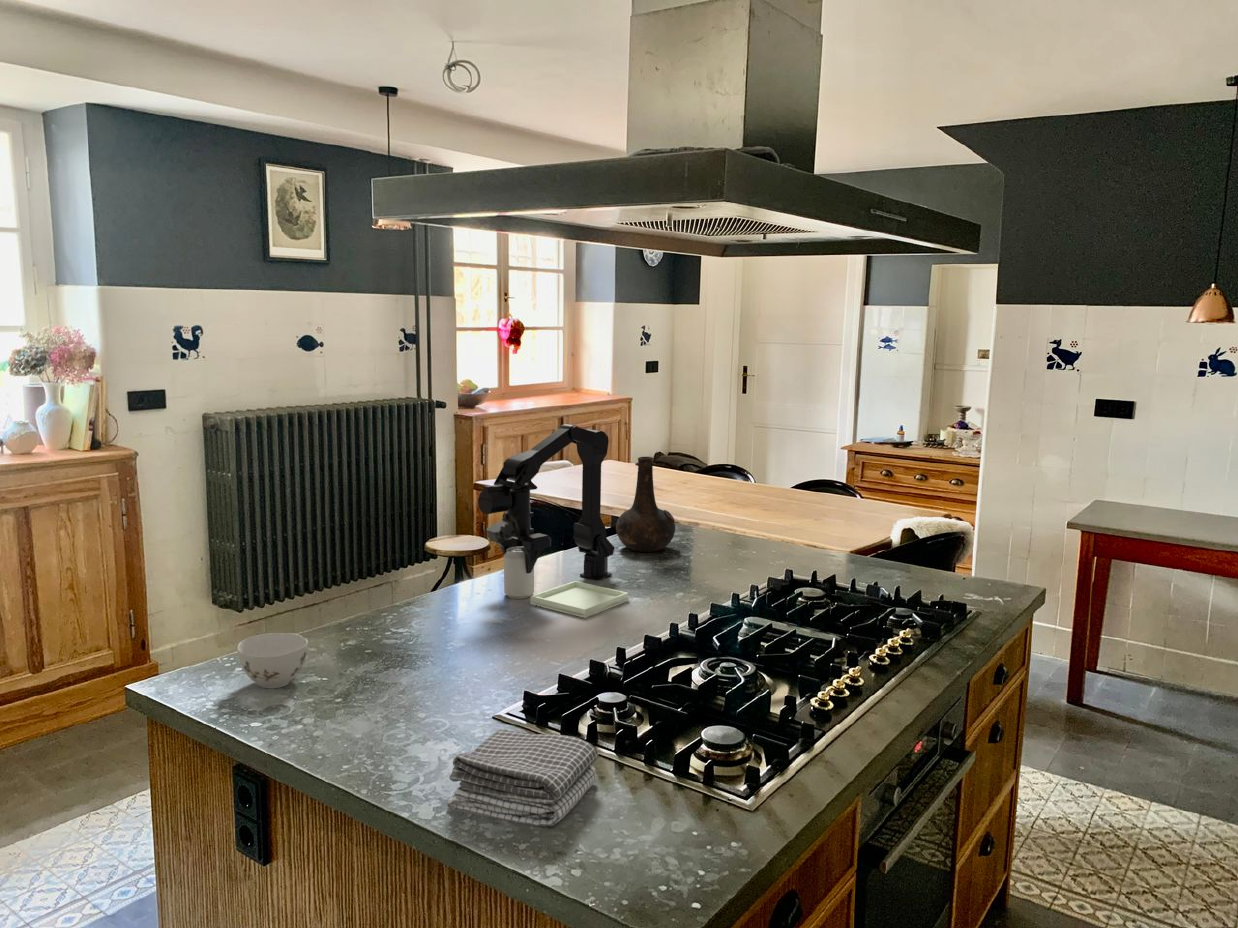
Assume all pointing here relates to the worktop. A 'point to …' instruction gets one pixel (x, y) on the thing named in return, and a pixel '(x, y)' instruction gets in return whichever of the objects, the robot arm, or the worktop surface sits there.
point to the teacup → (272, 658)
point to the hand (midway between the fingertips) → (519, 570)
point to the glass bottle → (645, 515)
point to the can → (517, 575)
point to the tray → (579, 598)
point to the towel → (523, 777)
